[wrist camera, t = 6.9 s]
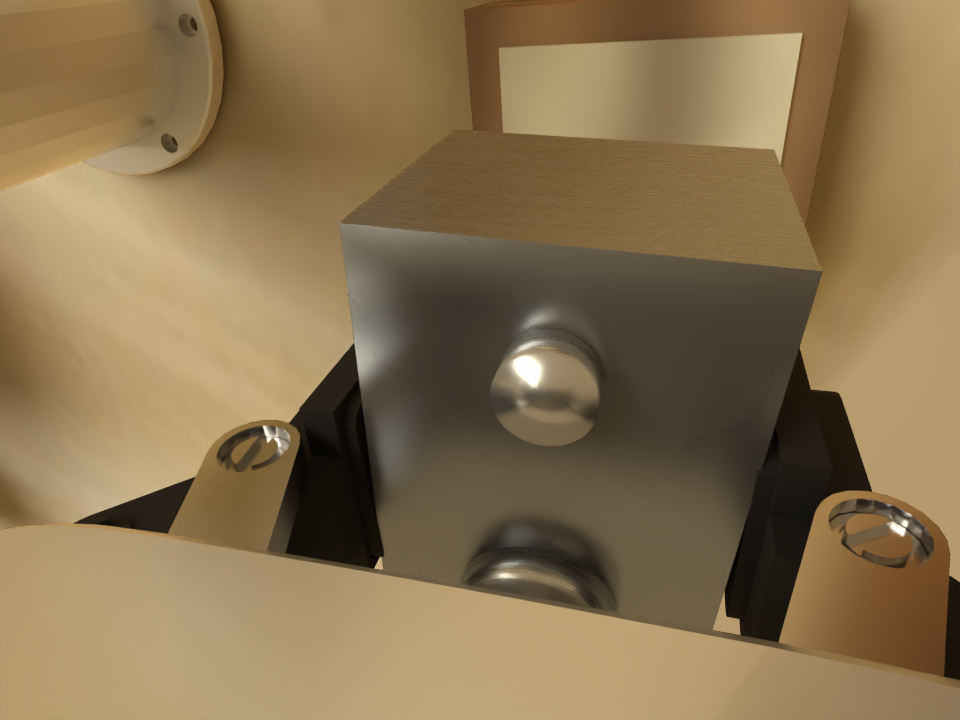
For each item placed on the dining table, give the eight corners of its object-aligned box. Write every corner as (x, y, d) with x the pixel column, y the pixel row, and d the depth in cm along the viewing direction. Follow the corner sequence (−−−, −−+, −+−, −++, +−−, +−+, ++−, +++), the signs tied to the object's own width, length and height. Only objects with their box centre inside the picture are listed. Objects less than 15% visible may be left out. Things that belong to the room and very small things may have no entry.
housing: (454, 129, 11) (313, 243, 7) (774, 150, 10) (834, 299, 6) (463, 483, 15) (380, 681, 11) (685, 525, 14) (683, 762, 10)
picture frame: (500, 250, 30) (483, 279, 27) (486, 3, 25) (462, 10, 22) (783, 259, 27) (793, 294, 24) (834, -20, 22) (855, -15, 19)
